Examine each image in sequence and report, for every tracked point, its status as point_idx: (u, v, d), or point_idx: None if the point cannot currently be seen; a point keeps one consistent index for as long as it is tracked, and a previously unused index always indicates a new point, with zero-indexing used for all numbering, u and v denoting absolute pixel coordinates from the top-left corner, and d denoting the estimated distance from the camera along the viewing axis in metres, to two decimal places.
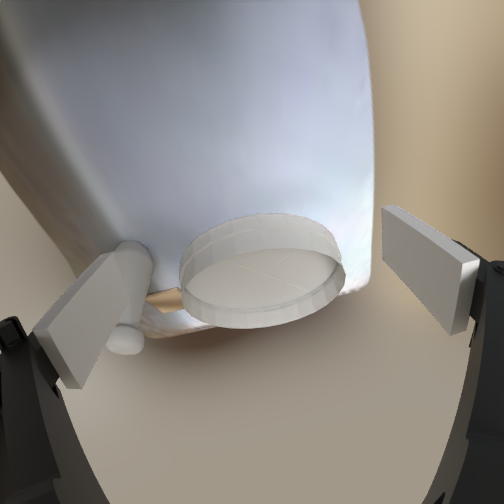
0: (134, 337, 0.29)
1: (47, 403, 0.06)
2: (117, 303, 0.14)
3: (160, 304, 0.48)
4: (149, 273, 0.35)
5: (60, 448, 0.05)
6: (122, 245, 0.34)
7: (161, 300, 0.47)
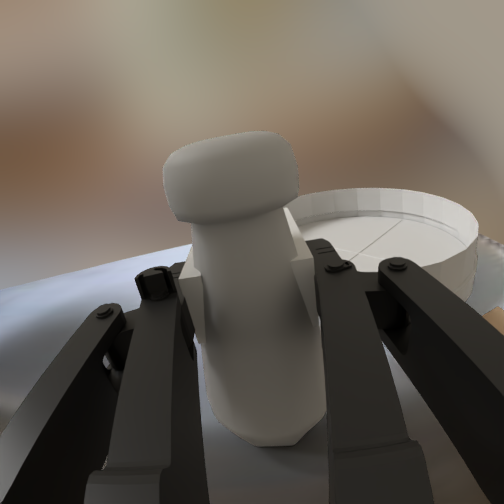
0: None
1: (180, 369, 0.07)
2: None
3: None
4: None
5: (179, 425, 0.05)
6: None
7: None
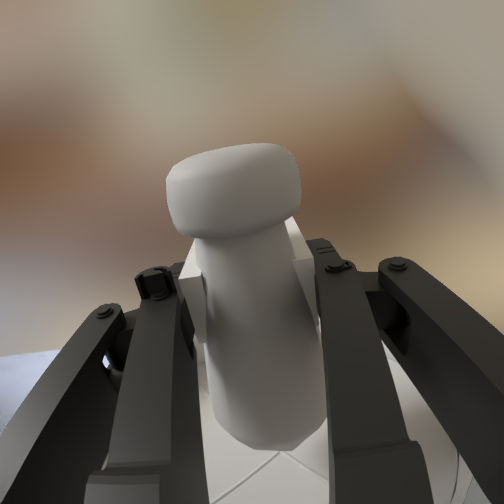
0: None
1: (180, 369, 0.07)
2: None
3: None
4: None
5: (179, 425, 0.05)
6: None
7: None
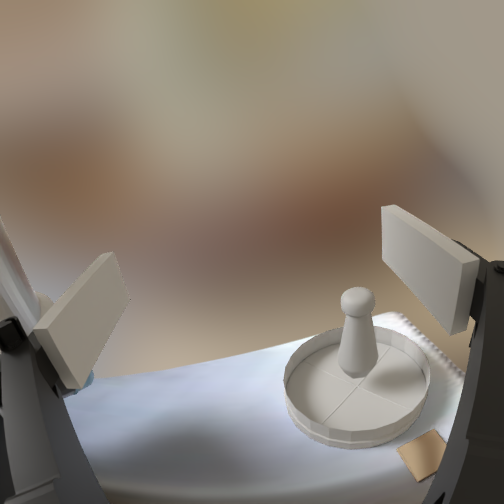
0: None
1: (47, 403, 0.06)
2: (117, 303, 0.14)
3: (433, 462, 0.27)
4: None
5: (60, 448, 0.05)
6: (341, 367, 0.41)
7: (421, 462, 0.27)
